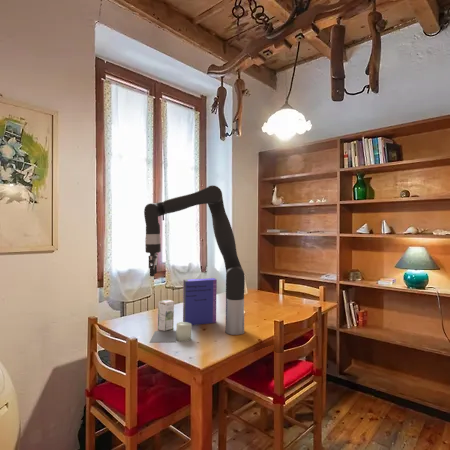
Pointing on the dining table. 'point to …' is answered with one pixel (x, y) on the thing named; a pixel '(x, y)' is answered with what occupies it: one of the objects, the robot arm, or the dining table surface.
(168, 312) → the syrup box
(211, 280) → the purple book
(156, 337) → the felt mat
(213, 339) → the dining table surface
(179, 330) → the pillar candle
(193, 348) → the dining table surface
